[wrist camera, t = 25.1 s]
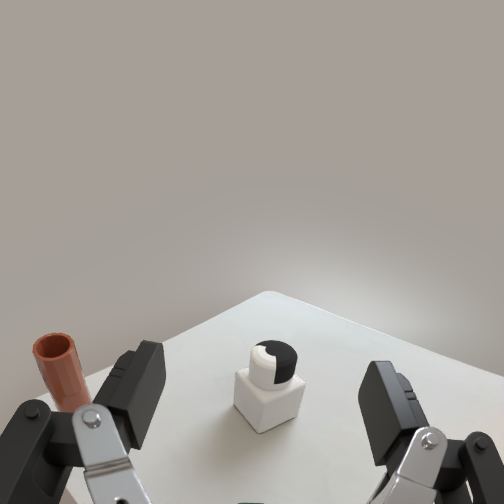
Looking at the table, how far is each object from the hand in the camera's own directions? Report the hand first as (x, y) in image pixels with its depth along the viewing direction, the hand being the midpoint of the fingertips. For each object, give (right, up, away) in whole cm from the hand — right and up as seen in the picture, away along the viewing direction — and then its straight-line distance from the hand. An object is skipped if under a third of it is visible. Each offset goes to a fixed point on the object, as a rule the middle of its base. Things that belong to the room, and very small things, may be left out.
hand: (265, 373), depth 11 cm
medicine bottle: (+1, -19, +31) cm, 36 cm away
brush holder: (-25, -20, +23) cm, 39 cm away
